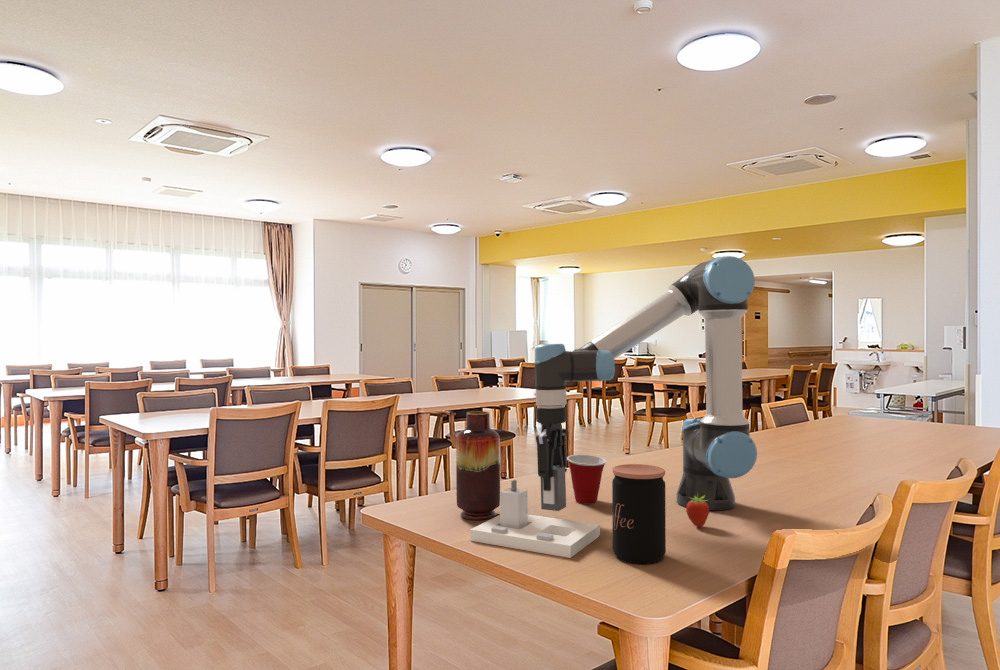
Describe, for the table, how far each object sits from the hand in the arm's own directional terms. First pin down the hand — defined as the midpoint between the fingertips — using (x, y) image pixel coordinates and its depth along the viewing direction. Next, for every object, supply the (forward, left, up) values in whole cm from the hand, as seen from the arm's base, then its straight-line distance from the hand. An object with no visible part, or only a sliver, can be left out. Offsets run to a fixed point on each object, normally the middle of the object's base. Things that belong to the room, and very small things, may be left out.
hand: (553, 500), depth 163 cm
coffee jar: (-26, +16, -5) cm, 32 cm away
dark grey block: (0, 0, -2) cm, 2 cm away
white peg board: (-2, +15, -5) cm, 16 cm away
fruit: (-32, -11, -5) cm, 35 cm away
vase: (+19, +5, -5) cm, 20 cm away
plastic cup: (0, -21, -5) cm, 21 cm away
